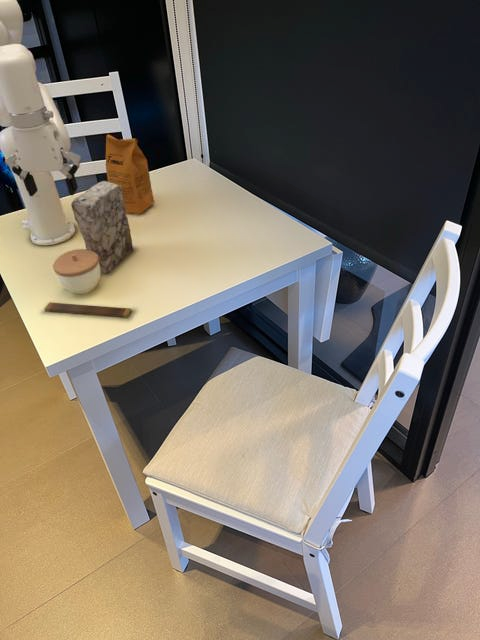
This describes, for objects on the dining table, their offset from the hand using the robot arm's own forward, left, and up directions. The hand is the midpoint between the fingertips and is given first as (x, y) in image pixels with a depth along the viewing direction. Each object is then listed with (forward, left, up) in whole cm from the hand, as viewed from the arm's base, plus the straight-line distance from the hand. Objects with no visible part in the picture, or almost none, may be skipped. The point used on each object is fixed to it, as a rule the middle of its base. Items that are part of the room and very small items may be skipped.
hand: (53, 193), depth 120 cm
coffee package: (+1, +38, -23) cm, 44 cm away
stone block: (+7, +7, -23) cm, 25 cm away
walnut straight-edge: (+9, -14, -23) cm, 28 cm away
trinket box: (+4, -5, -23) cm, 24 cm away
